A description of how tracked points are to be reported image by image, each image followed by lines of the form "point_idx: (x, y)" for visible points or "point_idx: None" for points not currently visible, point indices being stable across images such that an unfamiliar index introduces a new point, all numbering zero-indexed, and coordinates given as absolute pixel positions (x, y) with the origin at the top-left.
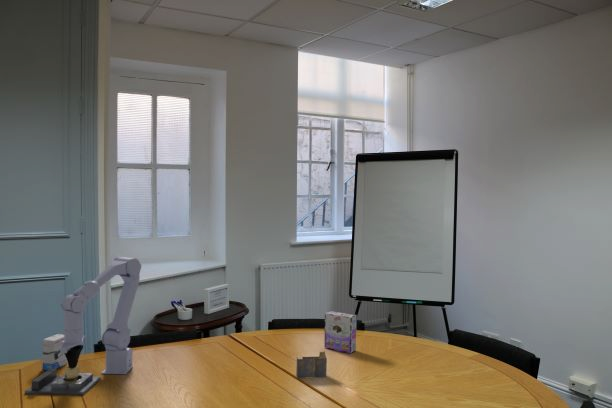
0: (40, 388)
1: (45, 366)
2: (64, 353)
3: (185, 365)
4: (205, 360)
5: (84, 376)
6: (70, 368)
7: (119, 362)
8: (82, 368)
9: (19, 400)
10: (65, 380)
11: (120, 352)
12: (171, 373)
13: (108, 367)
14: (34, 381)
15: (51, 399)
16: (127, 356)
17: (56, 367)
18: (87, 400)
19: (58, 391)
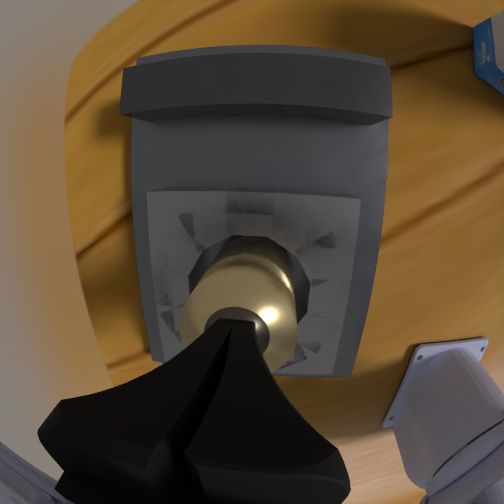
0: (165, 119)
1: (482, 35)
2: (97, 398)
3: (401, 489)
4: (416, 496)
5: None
6: (199, 334)
7: (413, 439)
8: (501, 220)
9: (80, 95)
10: (215, 258)
11: (427, 476)
12: (353, 490)
13: (422, 388)
14: (122, 86)
15: (95, 235)
16: (409, 476)
17: (497, 87)
18: (121, 373)
19: (138, 246)
